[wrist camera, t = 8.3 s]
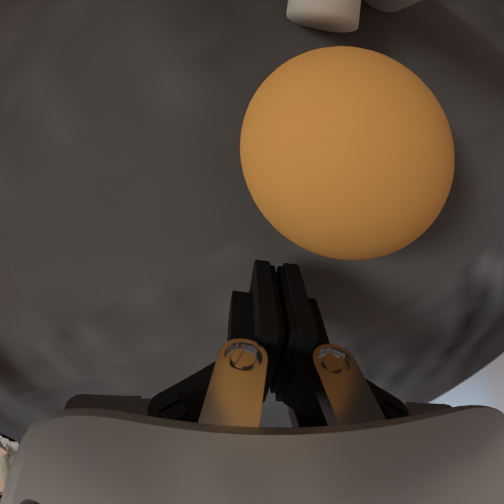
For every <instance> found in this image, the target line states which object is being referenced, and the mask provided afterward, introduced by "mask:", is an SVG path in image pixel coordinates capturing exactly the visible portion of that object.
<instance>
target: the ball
mask: <svg viewBox="0 0 504 504" xmlns="http://www.w3.org/2000/svg"><path fill="white" fill-rule="evenodd" d="M240 156H241V164H242V170H243V175H244V178H245V181H246V184H247V187H248V189H249V191H250V193H251V195H252V197H253V199H254V201H255V203H256V205H257V206H258V208H259V209H260V211H261V212H262V214H263V215H264V217H265V218H266V219H267V220H268V221H269V222H270V223H271V225H272V226H273V227H274V228H275V229H277V230H278V231H279V232H280V233H281V234H282V235H283V236H285V237H286V238H288V239H289V240H291V241H292V242H294V243H295V244H297V245H298V246H300V247H302V248H304V249H306V250H308V251H310V252H313V253H316V254H319V255H322V256H325V257H329V258H334V259H340V260H366V259H374V258H378V257H382V256H385V255H388V254H391V253H393V252H395V251H398V250H400V249H402V248H404V247H405V246H407V245H409V244H410V243H412V242H413V241H414V240H416V239H417V238H418V237H419V236H420V235H422V234H423V233H424V232H425V231H426V230H427V229H428V228H429V227H430V226H431V225H432V223H433V222H434V221H435V219H436V218H437V216H438V215H439V213H440V211H441V209H442V208H443V206H444V204H445V202H446V200H447V197H448V195H449V192H450V189H451V185H452V181H453V175H454V165H455V153H454V144H453V138H452V133H451V129H450V126H449V123H448V120H447V118H446V116H445V113H444V111H443V109H442V107H441V105H440V104H439V102H438V100H437V99H436V97H435V96H434V95H433V93H432V92H431V90H430V89H429V88H428V87H427V86H426V85H425V83H424V82H423V81H422V80H421V79H420V78H419V77H418V76H417V75H416V74H414V73H413V72H412V71H411V70H410V69H408V68H407V67H405V66H404V65H402V64H401V63H399V62H397V61H396V60H394V59H392V58H390V57H388V56H386V55H384V54H381V53H378V52H375V51H372V50H367V49H363V48H357V47H350V46H335V47H326V48H319V49H315V50H311V51H308V52H305V53H303V54H301V55H299V56H296V57H294V58H292V59H290V60H288V61H287V62H285V63H284V64H282V65H281V66H279V67H278V68H277V69H276V70H275V71H274V72H273V73H271V74H270V75H269V76H268V77H267V78H266V79H265V81H264V82H263V83H262V84H261V86H260V87H259V88H258V89H257V91H256V93H255V94H254V96H253V98H252V100H251V101H250V103H249V106H248V108H247V111H246V114H245V116H244V121H243V125H242V130H241V139H240Z"/></svg>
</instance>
